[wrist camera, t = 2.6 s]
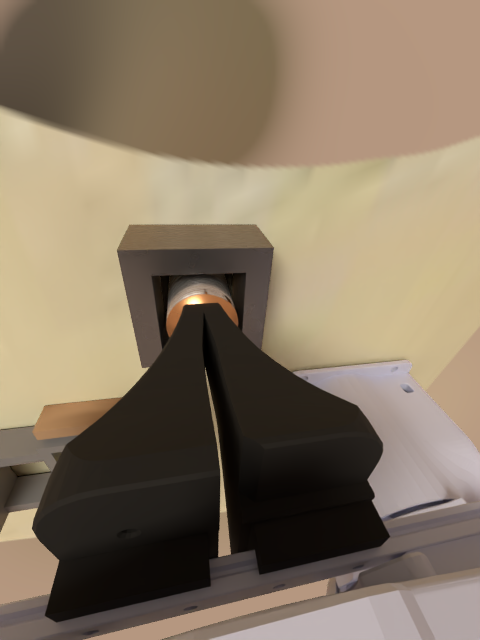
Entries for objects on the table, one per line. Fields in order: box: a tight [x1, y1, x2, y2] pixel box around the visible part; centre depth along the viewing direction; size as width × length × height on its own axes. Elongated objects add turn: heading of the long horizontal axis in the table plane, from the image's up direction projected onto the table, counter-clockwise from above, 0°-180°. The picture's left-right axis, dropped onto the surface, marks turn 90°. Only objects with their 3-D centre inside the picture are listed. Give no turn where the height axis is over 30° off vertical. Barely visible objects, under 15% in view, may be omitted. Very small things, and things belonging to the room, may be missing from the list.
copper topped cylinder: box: [166, 273, 238, 337], centre depth 12 cm, size 3×3×4 cm
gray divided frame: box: [0, 426, 78, 532], centre depth 18 cm, size 12×7×4 cm, turn 87°
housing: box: [32, 398, 121, 440], centre depth 20 cm, size 8×10×2 cm
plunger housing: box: [117, 225, 274, 368], centre depth 13 cm, size 6×6×3 cm
